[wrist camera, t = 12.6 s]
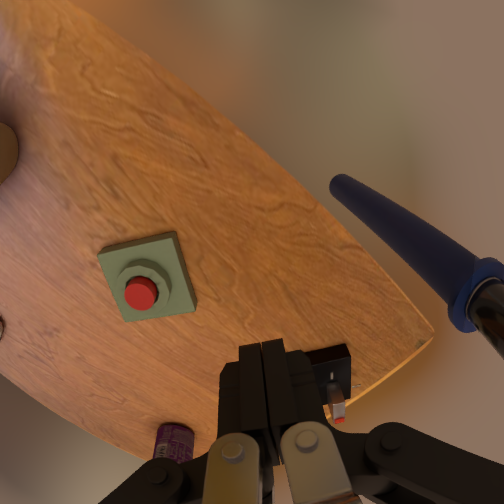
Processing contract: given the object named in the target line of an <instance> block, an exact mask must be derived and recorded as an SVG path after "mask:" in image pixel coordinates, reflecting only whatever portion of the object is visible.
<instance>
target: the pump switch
mask: <svg viewBox="0 0 504 504" xmlns="http://www.w3.org/2000/svg"><path fill="white" fill-rule="evenodd" d="M97 257H98V260H99V262H100V265H101V267H102V270H103V272H104V275H105V277H106V280H107V282H108V285H109V287H110V289H111V292H112V294H113V296H114V299H115V301H116V303H117V306H118V308H119V310H120V312H121V314H122V317H123V319H124V321H125V322H132V321H139V320H145V319H152V318H158V317H165V316H171V315H177V314H183V313H189V312H195V311H196V306H197V300H196V297H195V294H194V291H193V287H192V284H191V281H190V278H189V275H188V272H187V269H186V265H185V262H184V259H183V256H182V252H181V249H180V246H179V242H178V239H177V236H176V232H175V231H174V232H169V233H165V234H160V235H156V236H152V237H147V238H143V239H139V240H135V241H130V242H126V243H122V244H118V245H114V246H109V247H105V248H103V249H102V250H101V251H100V252H99V253H98V254H97ZM139 276H141V277H146V278H148V279H150V280H151V281H152V282H153V283H154V284H155V286H156V288H157V296H156V299H155V301H154V304H153V305H152V307H151V308H149V309H148V310H144V311H140V310H136V309H134V308H132V307H131V306H129V305H128V303H127V302H126V300H125V297H124V292H125V289H126V287H127V286H128V284H129V282H130V281H131V280H132V279H133V278H135V277H139Z"/></svg>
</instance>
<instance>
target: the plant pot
mask: <svg viewBox="0 0 504 504" xmlns="http://www.w3.org/2000/svg"><path fill="white" fill-rule="evenodd" d="M17 159H18V141H17V138H16V135H15V133H14V131H13V130H12V129H11V128H10V127H9V126H7V125H5V124H3V123H1V122H0V185H1V184H2V183H3V181H4V180H5V179H6V178H7V177H8V175H9V174H10V173H11V172H12V170H13V169H14V167H15V165H16V162H17Z"/></svg>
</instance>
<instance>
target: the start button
mask: <svg viewBox="0 0 504 504" xmlns="http://www.w3.org/2000/svg"><path fill="white" fill-rule="evenodd" d="M156 296H157V288H156V286H155V284H154V283H153V282H152V281H151V280H150V279H148V278H146V277H141V276H139V277H135V278H133V279H132V280H131V281H130V282H129V284H128V286H127V287H126V289H125V292H124V297H125V300H126V302H127V303H128V305H129V306H131V307H132V308H134V309H136V310H140V311H144V310H148V309H149V308H151V307H152V305H153V304H154V301H155V299H156Z"/></svg>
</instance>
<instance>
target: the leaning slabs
mask: <svg viewBox="0 0 504 504" xmlns="http://www.w3.org/2000/svg"><path fill="white" fill-rule="evenodd" d="M2 331H3V326H2V323H1V322H0V339H1V335H2Z"/></svg>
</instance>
